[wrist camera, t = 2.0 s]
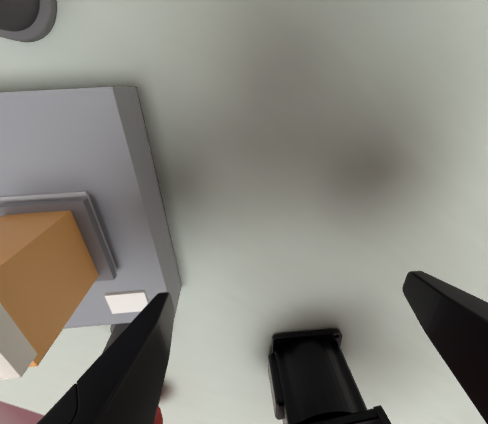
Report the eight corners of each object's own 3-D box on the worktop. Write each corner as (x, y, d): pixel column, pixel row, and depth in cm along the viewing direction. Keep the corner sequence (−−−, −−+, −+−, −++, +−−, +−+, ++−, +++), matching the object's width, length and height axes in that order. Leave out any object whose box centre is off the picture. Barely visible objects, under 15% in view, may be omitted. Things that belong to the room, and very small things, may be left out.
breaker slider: (87, 197, 11) (-27, 288, 6) (117, 275, 14) (51, 388, 8) (-9, 204, 11) (-207, 303, 6) (37, 281, 13) (-80, 401, 8)
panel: (136, 86, 12) (109, 86, 10) (181, 286, 19) (173, 321, 16) (-191, 104, 12) (-324, 109, 9) (-29, 304, 18) (-76, 343, 15)
